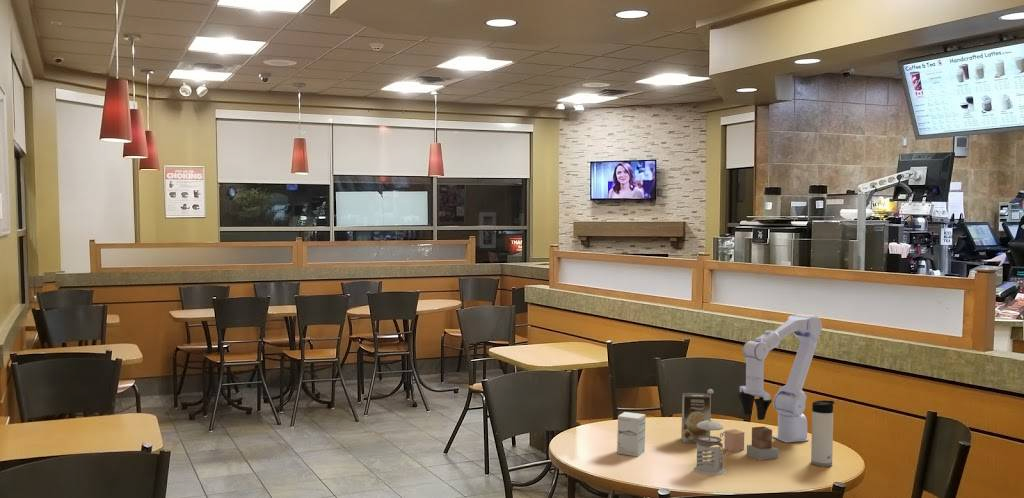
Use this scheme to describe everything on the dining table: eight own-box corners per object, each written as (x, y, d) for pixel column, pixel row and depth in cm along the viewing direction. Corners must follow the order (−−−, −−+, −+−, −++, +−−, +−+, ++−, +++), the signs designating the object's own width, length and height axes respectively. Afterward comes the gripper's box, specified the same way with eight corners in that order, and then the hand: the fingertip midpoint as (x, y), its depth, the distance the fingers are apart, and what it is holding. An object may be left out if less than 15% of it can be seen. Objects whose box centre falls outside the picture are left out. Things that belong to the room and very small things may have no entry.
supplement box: (616, 454, 276) (616, 415, 276) (624, 448, 283) (624, 411, 282) (638, 457, 273) (638, 418, 272) (645, 451, 279) (646, 413, 279)
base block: (765, 452, 279) (765, 443, 279) (777, 458, 272) (778, 448, 272) (746, 454, 277) (746, 444, 277) (759, 460, 270) (759, 450, 270)
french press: (702, 463, 266) (703, 384, 265) (736, 470, 259) (738, 389, 258) (687, 470, 259) (688, 389, 258) (722, 478, 251) (723, 394, 250)
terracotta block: (733, 446, 286) (733, 429, 286) (744, 449, 282) (744, 431, 282) (724, 448, 284) (724, 430, 283) (734, 451, 280) (734, 433, 280)
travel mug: (835, 467, 263) (836, 403, 262) (812, 466, 264) (813, 402, 263) (831, 461, 269) (832, 399, 268) (809, 460, 270) (810, 398, 269)
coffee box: (682, 442, 290) (683, 396, 290) (681, 438, 297) (681, 392, 296) (710, 443, 289) (710, 397, 289) (707, 438, 296) (708, 393, 295)
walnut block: (763, 444, 277) (763, 426, 277) (771, 448, 273) (772, 429, 273) (751, 445, 276) (751, 427, 276) (759, 449, 272) (760, 430, 271)
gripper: (732, 374, 292) (731, 413, 292) (757, 381, 278) (757, 422, 279) (749, 372, 294) (749, 411, 295) (775, 380, 280) (775, 421, 281)
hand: (754, 417), depth 287 cm, fingers open, 7 cm apart
